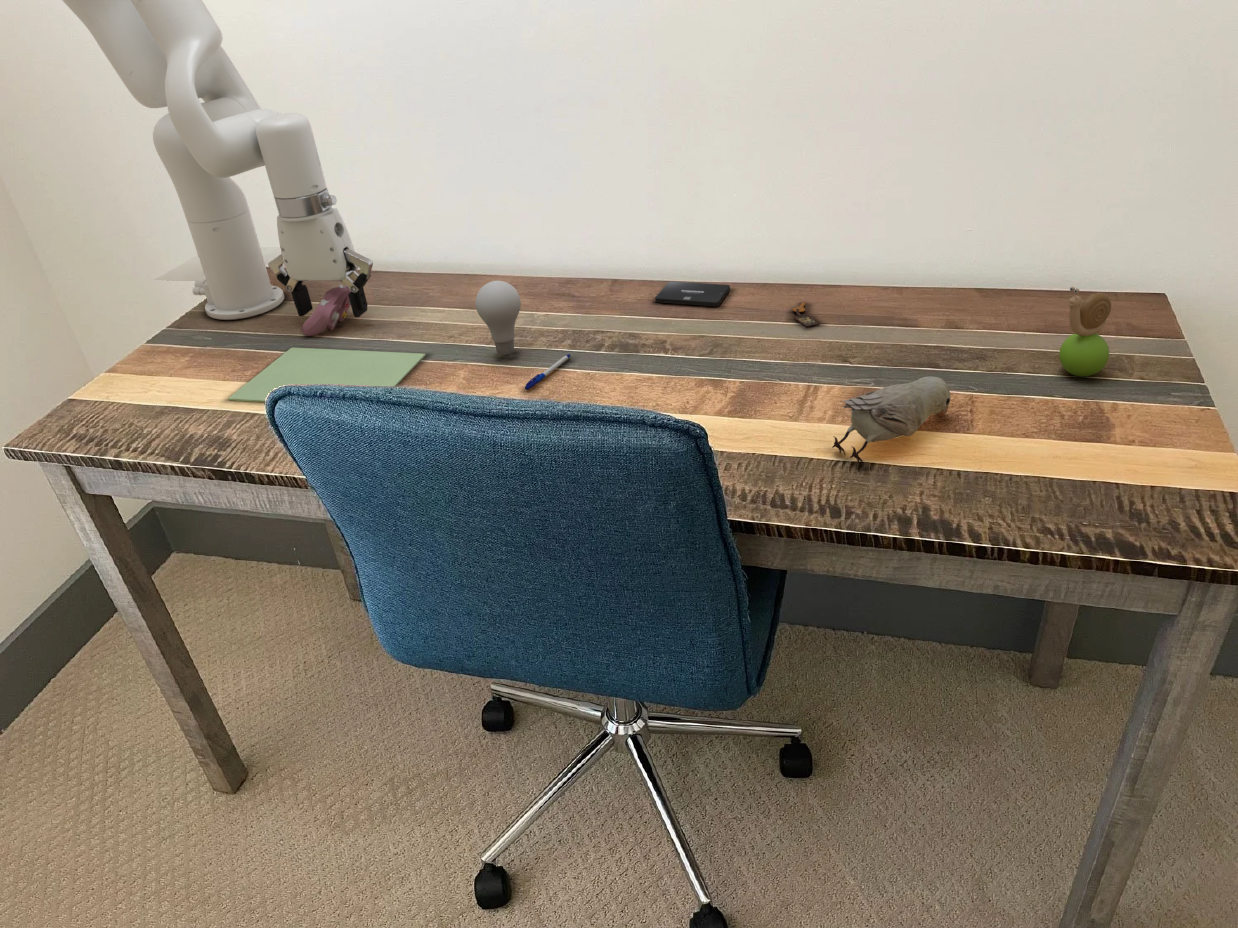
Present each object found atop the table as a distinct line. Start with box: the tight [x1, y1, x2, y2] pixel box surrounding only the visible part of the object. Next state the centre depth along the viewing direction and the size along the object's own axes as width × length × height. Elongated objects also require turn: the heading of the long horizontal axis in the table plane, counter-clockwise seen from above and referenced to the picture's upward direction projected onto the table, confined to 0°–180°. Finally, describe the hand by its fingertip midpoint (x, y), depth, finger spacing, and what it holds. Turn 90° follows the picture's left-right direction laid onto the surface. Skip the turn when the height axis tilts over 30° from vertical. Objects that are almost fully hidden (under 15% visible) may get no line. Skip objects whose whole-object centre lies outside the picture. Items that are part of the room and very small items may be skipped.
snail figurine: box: [1058, 286, 1112, 378], centre depth 114 cm, size 5×6×12 cm
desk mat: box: [228, 347, 427, 403], centre depth 134 cm, size 22×16×1 cm
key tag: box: [792, 301, 821, 328], centre depth 138 cm, size 8×3×1 cm, turn 7°
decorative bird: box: [831, 376, 952, 467], centre depth 106 cm, size 5×16×8 cm, turn 123°
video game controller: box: [302, 283, 351, 337], centre depth 149 cm, size 10×5×7 cm, turn 168°
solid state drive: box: [654, 280, 731, 307], centre depth 148 cm, size 7×10×1 cm
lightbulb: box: [475, 280, 522, 358], centre depth 133 cm, size 6×6×11 cm
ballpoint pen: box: [524, 353, 571, 391], centre depth 129 cm, size 10×1×1 cm, turn 151°
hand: (333, 313), depth 149 cm, fingers open, 9 cm apart
